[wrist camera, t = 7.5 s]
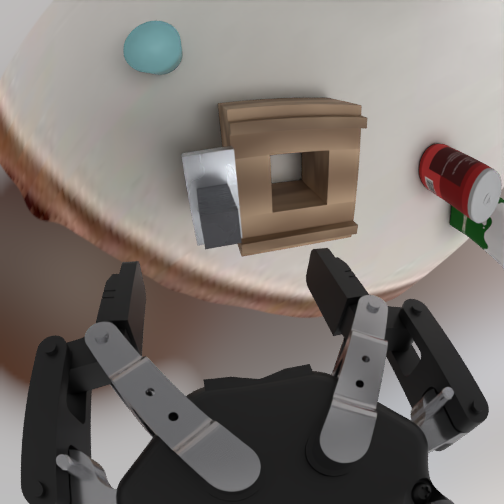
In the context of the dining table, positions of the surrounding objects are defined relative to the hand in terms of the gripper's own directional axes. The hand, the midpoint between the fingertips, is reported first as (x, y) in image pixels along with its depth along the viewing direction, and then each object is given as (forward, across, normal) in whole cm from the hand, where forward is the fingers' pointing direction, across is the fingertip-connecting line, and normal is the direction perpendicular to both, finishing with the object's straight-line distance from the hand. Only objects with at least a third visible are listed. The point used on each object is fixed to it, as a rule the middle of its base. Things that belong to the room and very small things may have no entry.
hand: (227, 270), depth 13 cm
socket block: (+20, -8, 0) cm, 21 cm away
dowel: (+20, +4, -11) cm, 23 cm away
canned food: (+20, -33, 0) cm, 39 cm away
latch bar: (+12, 0, +1) cm, 12 cm away
